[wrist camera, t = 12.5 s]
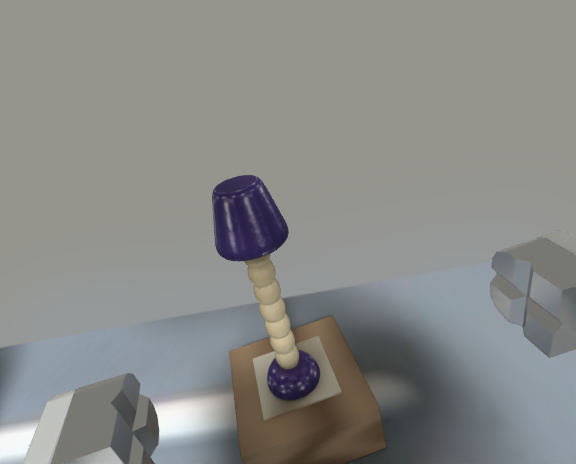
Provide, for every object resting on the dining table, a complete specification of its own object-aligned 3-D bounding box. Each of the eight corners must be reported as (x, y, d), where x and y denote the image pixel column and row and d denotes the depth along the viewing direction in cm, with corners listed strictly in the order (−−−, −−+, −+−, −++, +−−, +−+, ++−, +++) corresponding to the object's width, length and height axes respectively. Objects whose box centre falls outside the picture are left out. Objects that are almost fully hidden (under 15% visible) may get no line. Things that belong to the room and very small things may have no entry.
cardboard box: (261, 495, 28) (240, 456, 25) (245, 386, 36) (228, 349, 34) (386, 447, 29) (378, 405, 26) (341, 352, 37) (332, 313, 35)
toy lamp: (276, 351, 32) (212, 173, 24) (329, 350, 31) (280, 162, 23) (262, 401, 28) (180, 208, 20) (322, 402, 27) (261, 198, 19)
